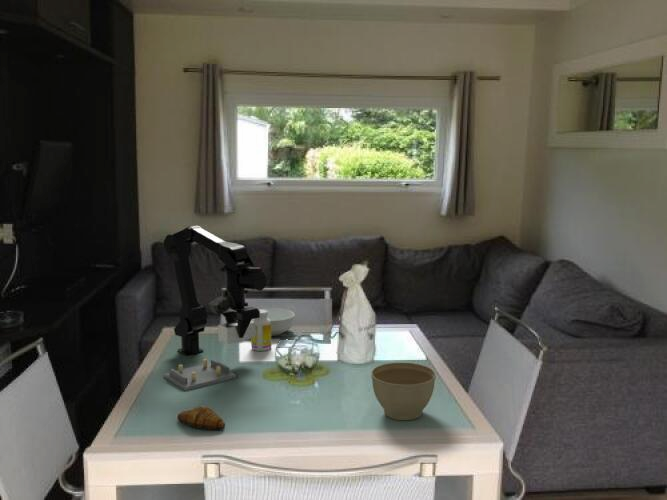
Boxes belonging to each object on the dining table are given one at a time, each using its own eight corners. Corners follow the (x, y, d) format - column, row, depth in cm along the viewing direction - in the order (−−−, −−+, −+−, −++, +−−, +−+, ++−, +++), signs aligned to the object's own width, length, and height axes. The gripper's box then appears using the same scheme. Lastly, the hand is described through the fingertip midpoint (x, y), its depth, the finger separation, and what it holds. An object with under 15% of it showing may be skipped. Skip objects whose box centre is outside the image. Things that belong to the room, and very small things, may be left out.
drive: (218, 340, 202) (218, 324, 201) (245, 334, 208) (245, 319, 207) (227, 344, 198) (227, 328, 197) (254, 337, 204) (254, 322, 204)
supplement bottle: (273, 345, 222) (272, 309, 220) (269, 352, 216) (268, 314, 214) (253, 345, 223) (253, 308, 221) (249, 351, 216) (248, 313, 214)
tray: (164, 376, 192) (163, 365, 192) (212, 365, 202) (212, 354, 202) (185, 390, 182) (185, 378, 181) (235, 377, 192) (235, 366, 191)
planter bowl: (370, 401, 174) (370, 361, 173) (430, 401, 174) (431, 362, 172) (371, 426, 158) (372, 383, 157) (438, 427, 158) (439, 384, 156)
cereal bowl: (242, 338, 231) (241, 318, 230) (255, 325, 247) (255, 307, 246) (288, 340, 228) (288, 321, 227) (299, 327, 244) (299, 309, 243)
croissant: (232, 425, 160) (231, 406, 159) (216, 436, 154) (215, 416, 153) (187, 415, 165) (186, 396, 165) (170, 426, 159) (169, 406, 159)
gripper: (197, 285, 203) (199, 333, 205) (227, 295, 188) (229, 348, 191) (229, 280, 210) (230, 327, 212) (260, 290, 195) (261, 340, 198)
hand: (236, 335), depth 203 cm, fingers closed on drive, 5 cm apart
